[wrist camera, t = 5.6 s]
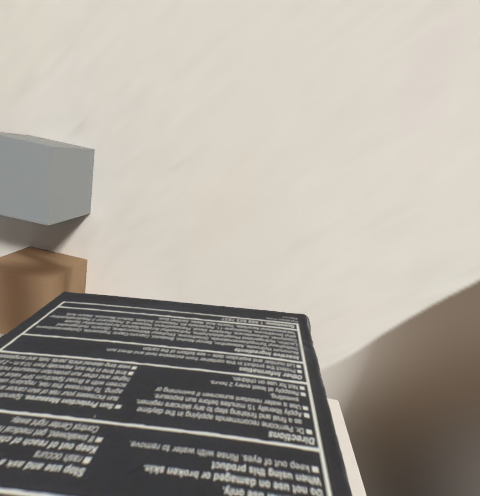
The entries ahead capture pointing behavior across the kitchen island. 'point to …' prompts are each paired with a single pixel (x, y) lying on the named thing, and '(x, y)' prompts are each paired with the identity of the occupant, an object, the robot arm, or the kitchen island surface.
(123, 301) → the small box
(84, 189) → the slate-grey block
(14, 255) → the walnut block
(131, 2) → the kitchen island surface
